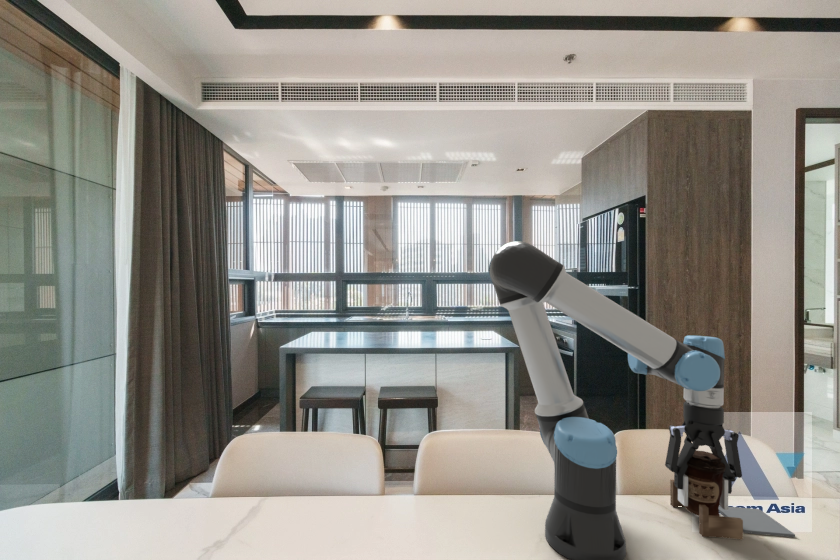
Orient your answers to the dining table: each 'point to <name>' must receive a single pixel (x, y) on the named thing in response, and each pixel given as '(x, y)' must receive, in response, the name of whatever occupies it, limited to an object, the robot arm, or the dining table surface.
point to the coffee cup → (704, 482)
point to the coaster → (756, 521)
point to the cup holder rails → (712, 520)
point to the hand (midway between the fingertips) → (702, 504)
